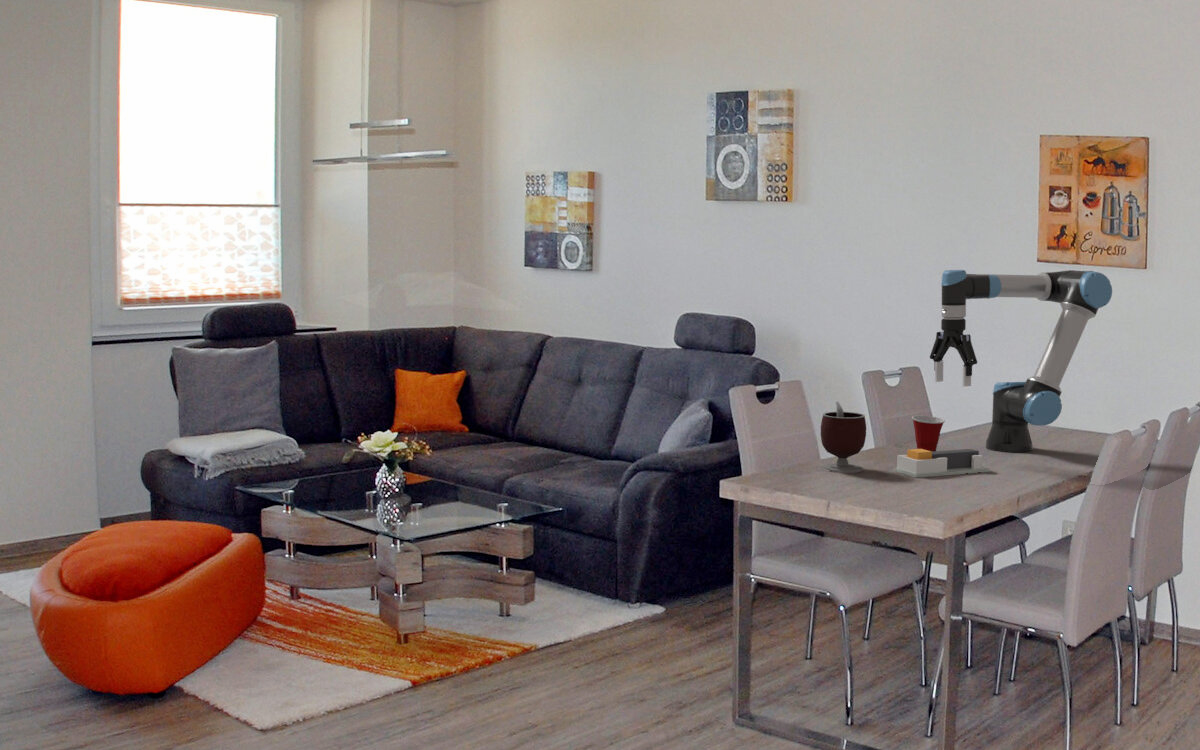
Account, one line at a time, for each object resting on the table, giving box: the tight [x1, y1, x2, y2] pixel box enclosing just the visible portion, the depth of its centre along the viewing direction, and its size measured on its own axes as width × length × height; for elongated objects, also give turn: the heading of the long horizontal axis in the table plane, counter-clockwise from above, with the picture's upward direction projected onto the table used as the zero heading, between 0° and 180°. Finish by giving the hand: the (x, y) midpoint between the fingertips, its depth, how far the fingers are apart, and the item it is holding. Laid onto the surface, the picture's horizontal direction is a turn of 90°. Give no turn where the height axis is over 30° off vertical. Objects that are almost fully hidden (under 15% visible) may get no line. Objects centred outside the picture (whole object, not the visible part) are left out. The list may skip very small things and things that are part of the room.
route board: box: [894, 454, 991, 478], centre depth 388 cm, size 27×11×5 cm, turn 111°
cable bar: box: [906, 448, 980, 469], centre depth 388 cm, size 23×6×6 cm, turn 111°
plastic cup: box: [911, 415, 946, 452], centre depth 419 cm, size 11×11×12 cm
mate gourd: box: [820, 401, 867, 474], centre depth 390 cm, size 16×14×20 cm
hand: (952, 383), depth 406 cm, fingers open, 13 cm apart
